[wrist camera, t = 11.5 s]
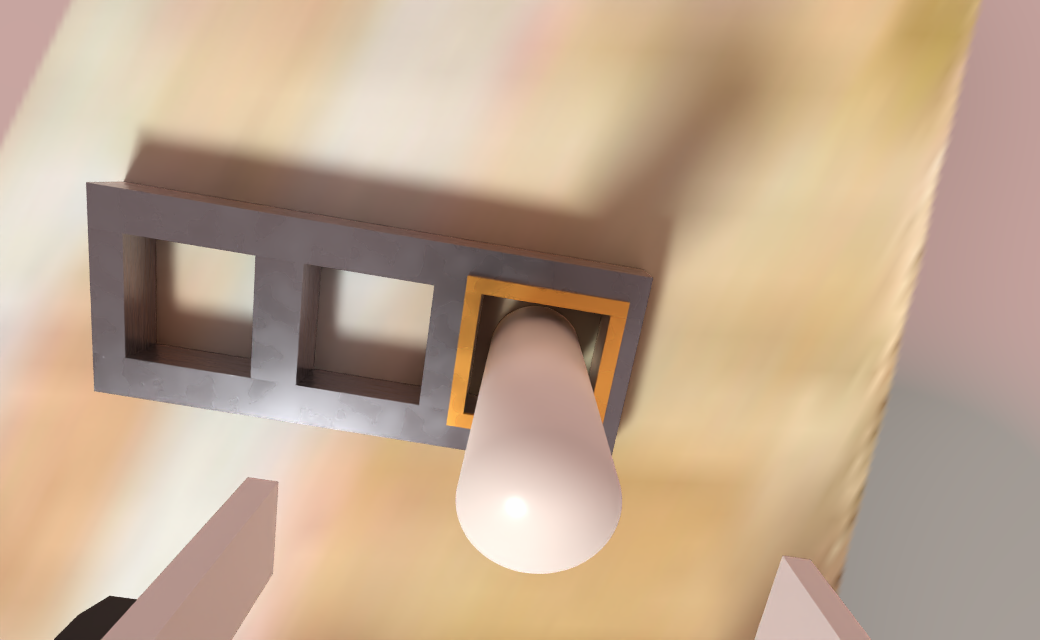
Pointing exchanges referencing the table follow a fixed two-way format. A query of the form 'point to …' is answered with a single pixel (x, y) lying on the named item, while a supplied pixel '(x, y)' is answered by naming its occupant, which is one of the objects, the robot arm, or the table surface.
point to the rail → (294, 310)
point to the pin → (537, 452)
